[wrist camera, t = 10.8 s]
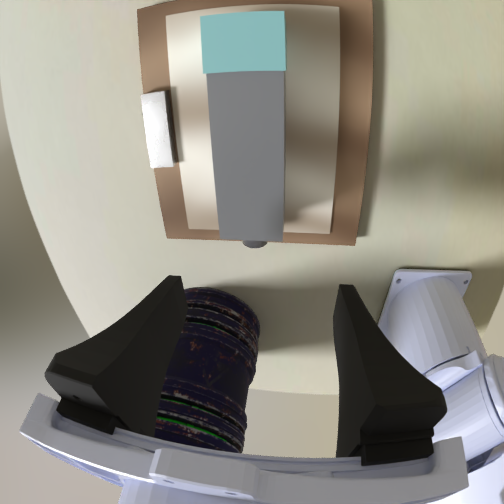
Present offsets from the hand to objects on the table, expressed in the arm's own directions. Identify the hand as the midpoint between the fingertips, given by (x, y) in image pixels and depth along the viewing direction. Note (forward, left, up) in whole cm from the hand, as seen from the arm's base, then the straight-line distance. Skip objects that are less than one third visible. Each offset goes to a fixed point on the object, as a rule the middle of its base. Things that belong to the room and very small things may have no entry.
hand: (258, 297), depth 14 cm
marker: (+6, +1, -8) cm, 10 cm away
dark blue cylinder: (-13, +6, -10) cm, 17 cm away
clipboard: (+6, +1, -9) cm, 11 cm away
